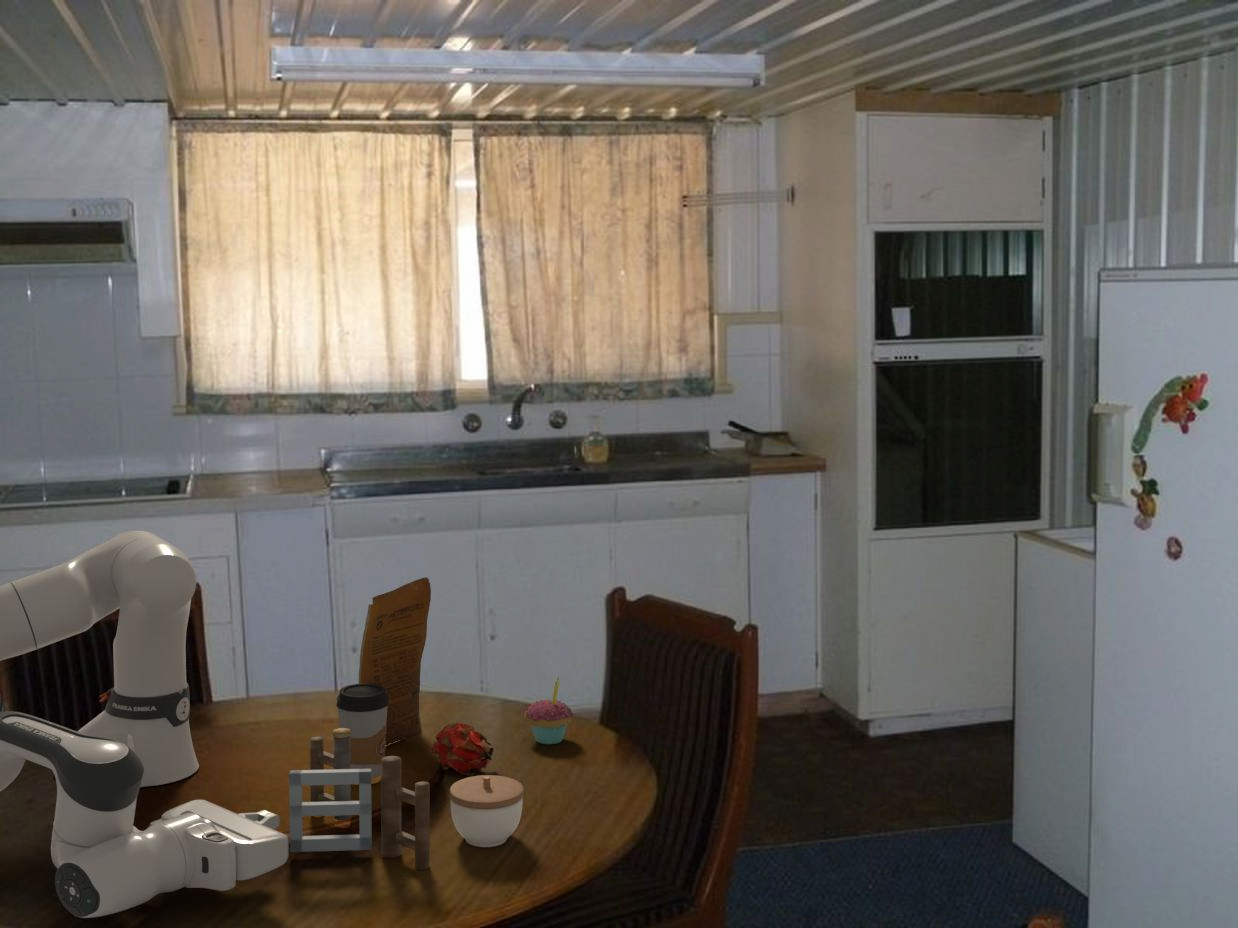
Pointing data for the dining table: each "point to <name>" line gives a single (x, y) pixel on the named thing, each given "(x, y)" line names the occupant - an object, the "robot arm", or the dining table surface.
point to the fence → (389, 798)
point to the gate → (330, 809)
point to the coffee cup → (364, 724)
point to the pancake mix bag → (397, 653)
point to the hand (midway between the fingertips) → (273, 817)
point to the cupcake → (549, 719)
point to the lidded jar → (486, 808)
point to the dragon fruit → (462, 748)
